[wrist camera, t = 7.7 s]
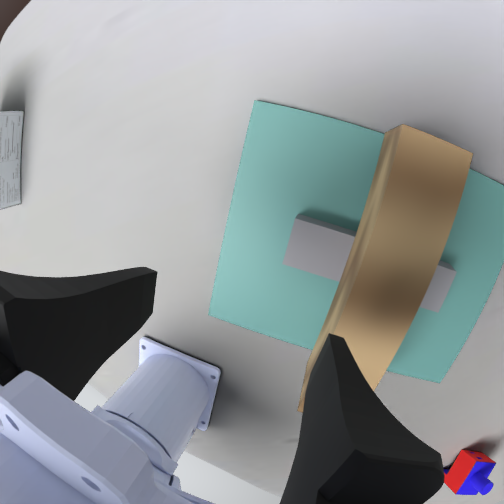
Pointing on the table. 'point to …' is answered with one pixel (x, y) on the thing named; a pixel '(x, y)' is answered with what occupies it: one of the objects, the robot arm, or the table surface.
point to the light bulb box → (10, 157)
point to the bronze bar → (395, 248)
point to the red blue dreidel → (470, 473)
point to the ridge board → (339, 196)
